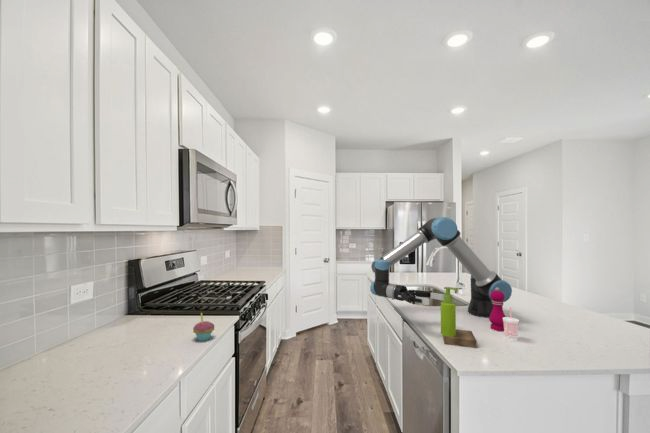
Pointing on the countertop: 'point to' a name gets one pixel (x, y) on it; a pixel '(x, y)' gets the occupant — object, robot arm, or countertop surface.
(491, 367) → the countertop surface
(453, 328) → the soap dispenser
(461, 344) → the plinth
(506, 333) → the beverage cup
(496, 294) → the pepper mill
